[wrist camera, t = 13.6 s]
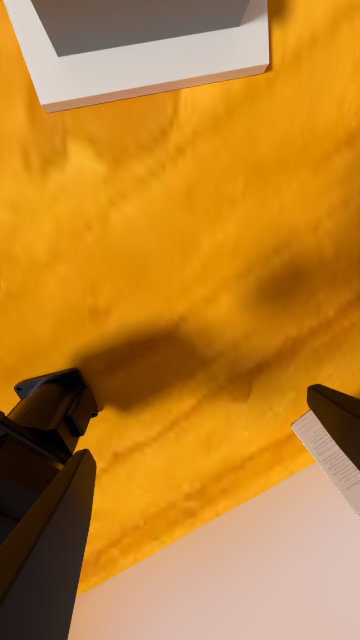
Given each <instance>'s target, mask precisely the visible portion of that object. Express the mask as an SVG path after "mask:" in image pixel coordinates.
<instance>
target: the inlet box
mask: <svg viewBox="0 0 360 640" xmlns="http://www.w3.org/2000/svg"><path fill="white" fill-rule="evenodd" d="M4 3H5V6H6V9H7V11H8V14H9V17H10V20H11V23H12V25H13V28H14V31H15V34H16V37H17V39H18V42H19V45H20V48H21V51H22V53H23V56H24V59H25V62H26V64H27V67H28V70H29V73H30V76H31V78H32V81H33V84H34V87H35V90H36V92H37V95H38V98H39V101H40V104H41V106H42V107H43V108H44V110H45V111H46V112H47V113H51V112H56V111H61V110H67V109H72V108H78V107H83V106H89V105H94V104H99V103H105V102H110V101H116V100H121V99H127V98H132V97H137V96H143V95H148V94H154V93H159V92H165V91H170V90H176V89H181V88H186V87H192V86H197V85H203V84H208V83H214V82H219V81H224V80H230V79H235V78H241V77H246V76H252V75H257V74H262V73H264V71H265V69H266V68H267V66H268V65H269V40H268V6H267V0H4Z"/></svg>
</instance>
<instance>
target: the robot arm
mask: <svg viewBox="0 0 360 640" xmlns="http://www.w3.org/2000/svg"><path fill="white" fill-rule="evenodd" d="M73 373H75V374H76V375H74V374H73ZM20 387H21V388H20ZM14 390H15V392H16V393H17V395H18V396H19V398H20V399H21V400H20V401H19V402H18V403H17V405H16V406H15V407H14V408H13V409H12V410H11V411H10V413H9V414H8V415H7V416H5V413H3V412H2V411H0V640H67V639H68V634H69V628H70V624H71V619H72V613H73V609H74V603H75V598H76V593H77V588H78V583H79V578H80V573H81V568H82V562H83V557H84V552H85V547H86V542H87V537H88V532H89V526H90V520H91V513H92V505H93V495H94V486H95V477H96V462H95V460H94V458H93V456H92V454H91V453H90V451H89V449H83V450H79V451H77V452H75V453H74V450H75V448H76V445H77V443H78V440H79V438H80V437H81V436H83V435H84V434H85V432H86V429H87V426H88V423H89V421H90V418H93V417H96V416H97V415H98V412H99V410H98V408H97V406H96V401H95V399H94V397H93V395H92V393H91V391H90V389H89V387H88V386H87V385H86V383H85V381H84V379H83V377H82V375H81V373H80V371H79V370H78V369H70V370H66V371H62V372H58V373H54V374H50V375H47V376H43V377H39V378H35V379H31V380H27V381H23V382H20V383H18V384H17V385H16V386H15V387H14ZM307 404H308V406H309V408H310V409H311V410H312V412H313V413H314V415H315V416H316V417H317V419H318V420H319V421H320V423H321V424H322V425H323V427H324V428H325V430H326V431H327V432H328V434H329V435H330V436H331V438H332V439H333V440H334V442H335V443H336V444H337V446H338V447H339V448H340V449H341V450H342V452H343V453H344V454H345V455H346V456H347V457H348V458H349V460H350V461H351V462H352V463H353V464H354V465H355V467H356V468H357V469H358V470H359V471H360V399H357V398H355V397H352V396H350V395H347V394H344V393H342V392H339V391H337V390H334V389H331V388H329V387H326V386H324V385H321V384H314V385H311V386H308V388H307ZM93 412H95V413H93ZM73 453H74V454H73Z"/></svg>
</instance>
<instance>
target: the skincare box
mask: <svg viewBox="0 0 360 640" xmlns="http://www.w3.org/2000/svg"><path fill="white" fill-rule="evenodd" d="M291 428H292V430H293V431H294V432H295V434H296V435H297V436H298V438H299V439H300V440H301V442H302V443H303V444H304V446H305V447H306V448H307V450H308V451H309V452H310V454H311V455H312V456H313V458H314V459H315V460H316V462H317V463H318V464H319V466H320V467H321V468H322V470H323V471H324V472H325V474H326V475H327V477H328V478H329V479H330V481H331V482H332V483H333V485H334V486H335V487H336V488H337V490H338V491H339V493H340V494H341V495H342V497H343V498H344V499H345V501H346V502H347V503H348V505H349V506H350V507H351V509H352V510H353V511H354V513H355V514H356V515H357V517H358V518H359V519H360V471H359V470H358V469H357V468H356V467H355V465H354V464H353V463H352V462H351V461H350V460H349V458H348V457H347V456H346V455H345V454H344V453H343V452H342V450H341V449H340V448H339V447H338V446H337V444H336V443H335V442H334V440H333V439H332V438H331V436H330V435H329V434H328V432H327V431H326V430H325V428H324V427H323V425H322V424H321V423H320V421H319V420H318V419H317V417H316V416H315V415H314V413H313V412H312V410H310V411H309V412H307V413H306V414H304V415H303V416H302V417H300V418H299V419H298V420H297V421H295V422H294V423H293V424H292V425H291Z"/></svg>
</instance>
